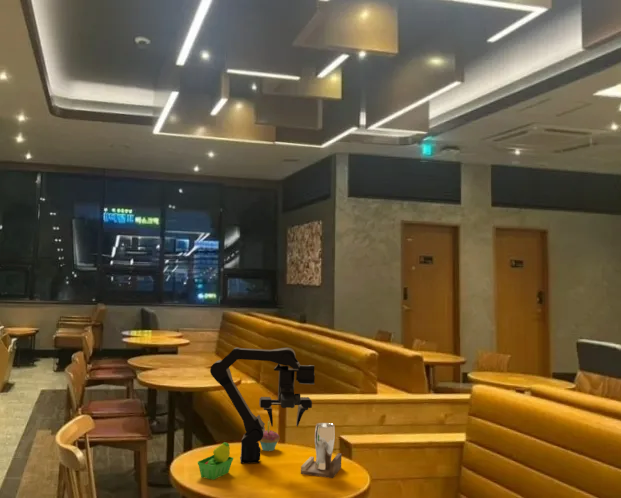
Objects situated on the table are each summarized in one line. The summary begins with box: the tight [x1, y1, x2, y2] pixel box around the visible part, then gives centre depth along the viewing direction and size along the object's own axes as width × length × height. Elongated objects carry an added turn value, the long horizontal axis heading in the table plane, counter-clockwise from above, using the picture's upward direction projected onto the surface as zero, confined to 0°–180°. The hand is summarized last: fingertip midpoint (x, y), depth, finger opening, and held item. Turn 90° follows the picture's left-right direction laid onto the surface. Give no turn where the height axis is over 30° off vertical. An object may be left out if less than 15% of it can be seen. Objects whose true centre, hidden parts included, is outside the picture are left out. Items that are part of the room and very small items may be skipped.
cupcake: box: [259, 420, 280, 452], centre depth 244 cm, size 9×8×12 cm
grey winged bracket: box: [300, 452, 343, 479], centre depth 221 cm, size 11×12×5 cm
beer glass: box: [314, 422, 336, 471], centre depth 221 cm, size 7×7×15 cm
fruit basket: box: [197, 441, 234, 480], centre depth 212 cm, size 11×9×11 cm
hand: (284, 426), depth 229 cm, fingers open, 9 cm apart
